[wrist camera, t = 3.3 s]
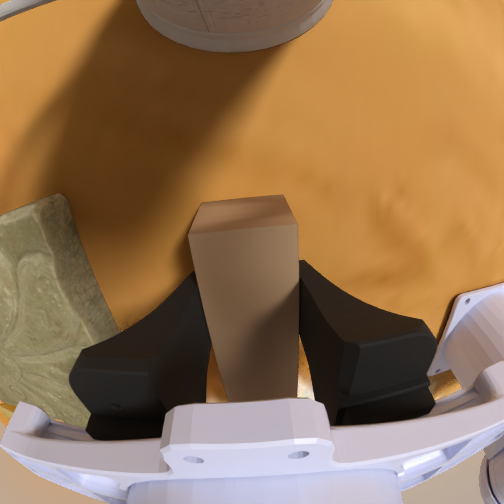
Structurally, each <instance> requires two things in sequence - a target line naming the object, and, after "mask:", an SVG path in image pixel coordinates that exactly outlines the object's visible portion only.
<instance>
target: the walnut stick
mask: <svg viewBox="0 0 504 504" xmlns="http://www.w3.org/2000/svg"><path fill="white" fill-rule="evenodd" d="M188 239H189V244H190V249H191V254H192V259H193V264H194V268H195V273H196V278H197V282H198V287H199V291H200V296H201V300H202V304H203V309H204V313H205V317H206V321H207V325H208V329H209V333H210V337H211V341H212V345H213V349H214V353H215V357H216V361H217V364H218V368H219V372H220V375H221V379H222V382H223V386H224V390H225V393H226V397H227V400H228V402H242V401H257V400H268V399H278V398H287V397H294V398H297V390H298V357H299V248H298V223H297V221H296V219H295V217H294V215H293V213H292V211H291V209H290V207H289V205H288V203H287V201H286V199H285V197H284V195H272V196H261V197H250V198H240V199H231V200H221V201H213V202H204V203H201V205H200V208H199V210H198V212H197V214H196V217H195V219H194V221H193V224H192V226H191V228H190V231H189V233H188Z"/></svg>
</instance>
